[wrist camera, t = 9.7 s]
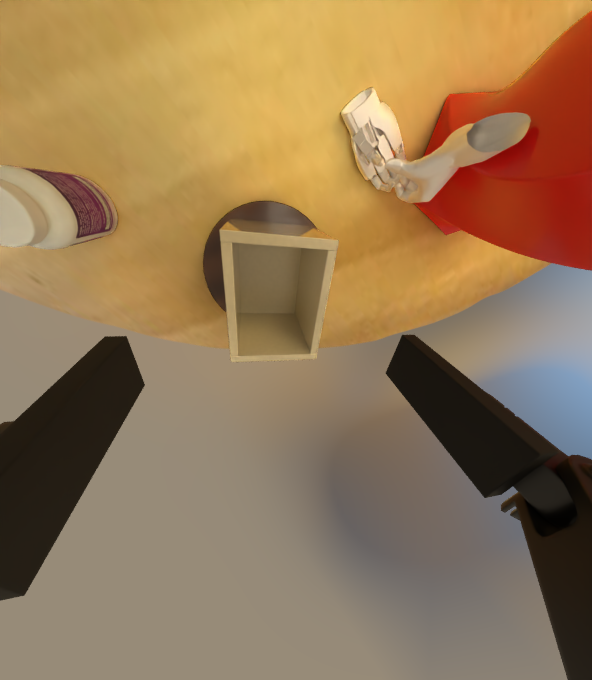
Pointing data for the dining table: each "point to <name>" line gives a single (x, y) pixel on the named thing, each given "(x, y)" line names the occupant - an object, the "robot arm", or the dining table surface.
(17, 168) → the pill bottle
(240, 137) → the dining table surface
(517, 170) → the vase
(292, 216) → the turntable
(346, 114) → the plaster hands
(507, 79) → the dining table surface
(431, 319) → the dining table surface
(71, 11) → the dining table surface
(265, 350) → the cream bin
